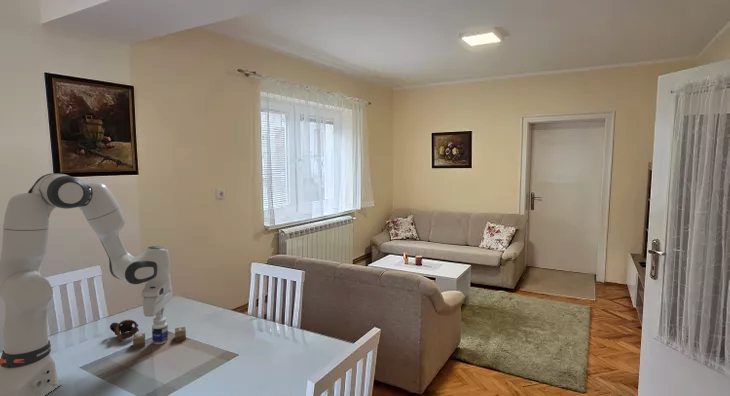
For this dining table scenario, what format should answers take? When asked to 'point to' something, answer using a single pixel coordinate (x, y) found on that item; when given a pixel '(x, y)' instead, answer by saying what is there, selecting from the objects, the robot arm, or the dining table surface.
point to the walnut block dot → (139, 340)
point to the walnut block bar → (180, 333)
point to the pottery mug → (124, 329)
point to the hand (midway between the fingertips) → (159, 318)
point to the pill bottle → (160, 331)
